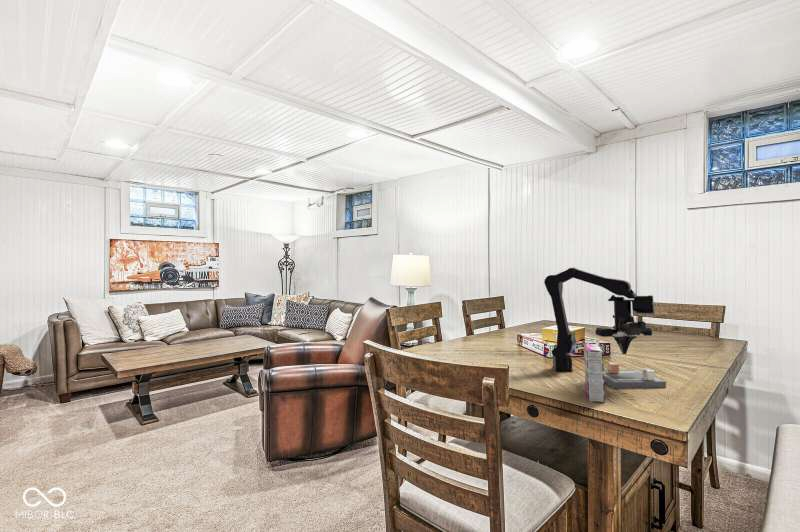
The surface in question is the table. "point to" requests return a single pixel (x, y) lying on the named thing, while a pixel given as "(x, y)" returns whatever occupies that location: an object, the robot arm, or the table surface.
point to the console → (631, 380)
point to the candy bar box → (594, 372)
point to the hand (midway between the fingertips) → (624, 354)
